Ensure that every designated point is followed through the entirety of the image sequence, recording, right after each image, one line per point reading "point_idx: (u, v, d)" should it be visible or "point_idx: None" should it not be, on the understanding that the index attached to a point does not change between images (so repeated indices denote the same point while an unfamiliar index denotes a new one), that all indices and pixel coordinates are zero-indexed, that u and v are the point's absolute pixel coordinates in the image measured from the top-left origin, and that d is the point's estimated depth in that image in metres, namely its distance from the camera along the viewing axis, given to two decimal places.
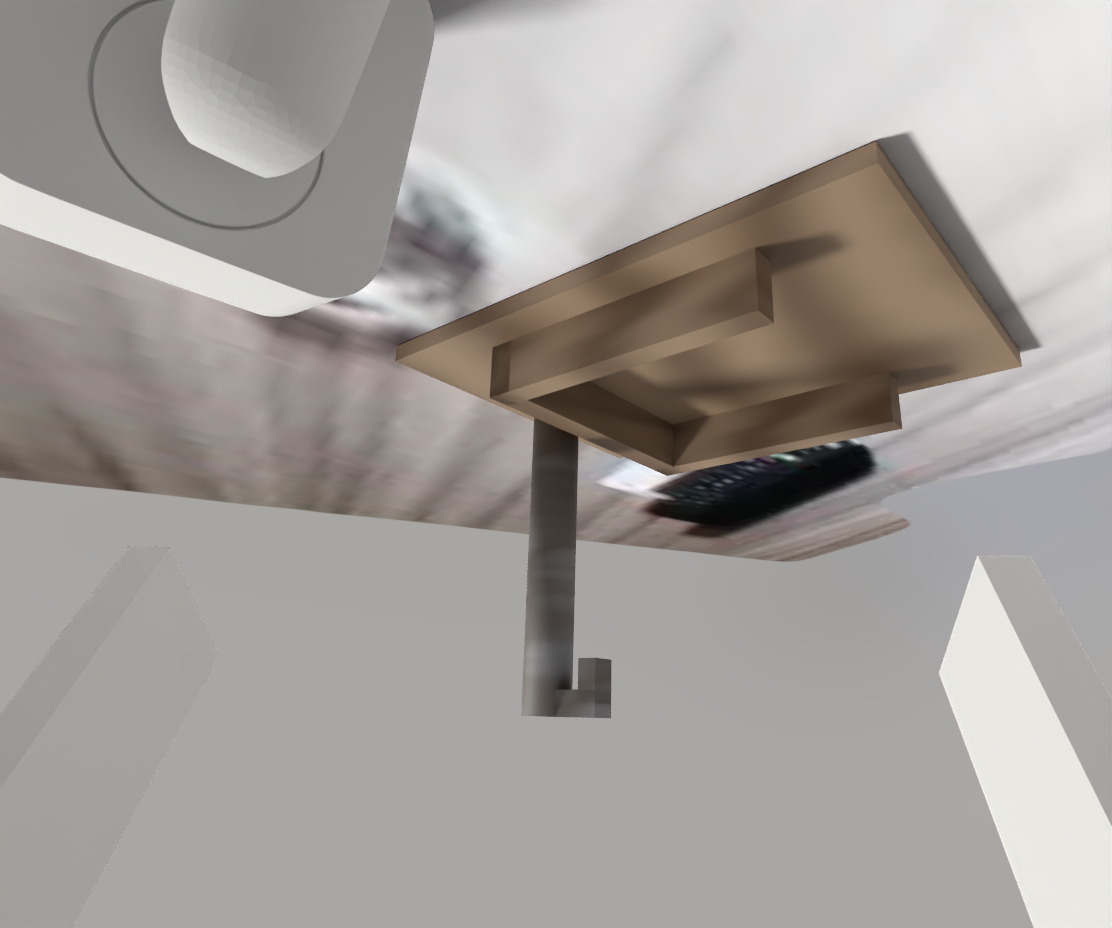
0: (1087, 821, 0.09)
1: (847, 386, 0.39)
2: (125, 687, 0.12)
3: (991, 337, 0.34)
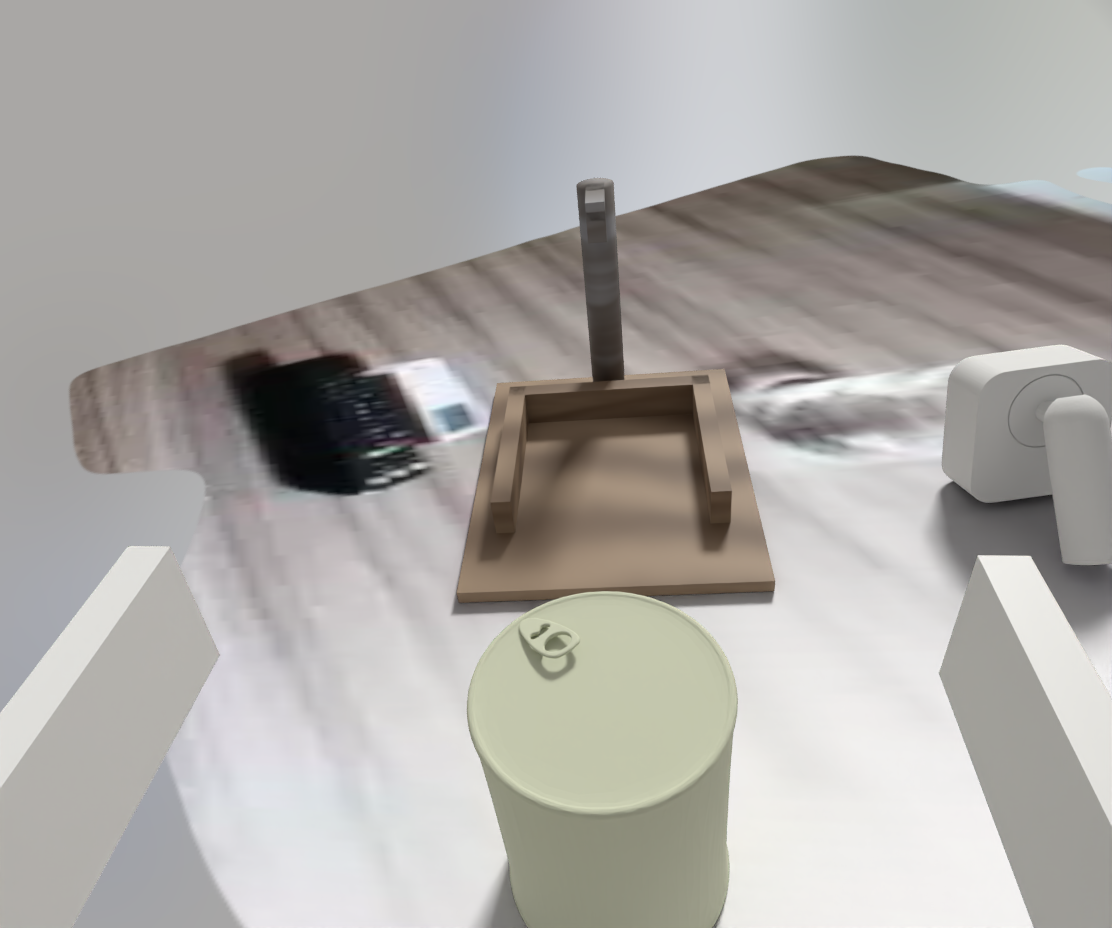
0: (1087, 821, 0.09)
1: (517, 508, 0.51)
2: (125, 687, 0.12)
3: (523, 586, 0.46)
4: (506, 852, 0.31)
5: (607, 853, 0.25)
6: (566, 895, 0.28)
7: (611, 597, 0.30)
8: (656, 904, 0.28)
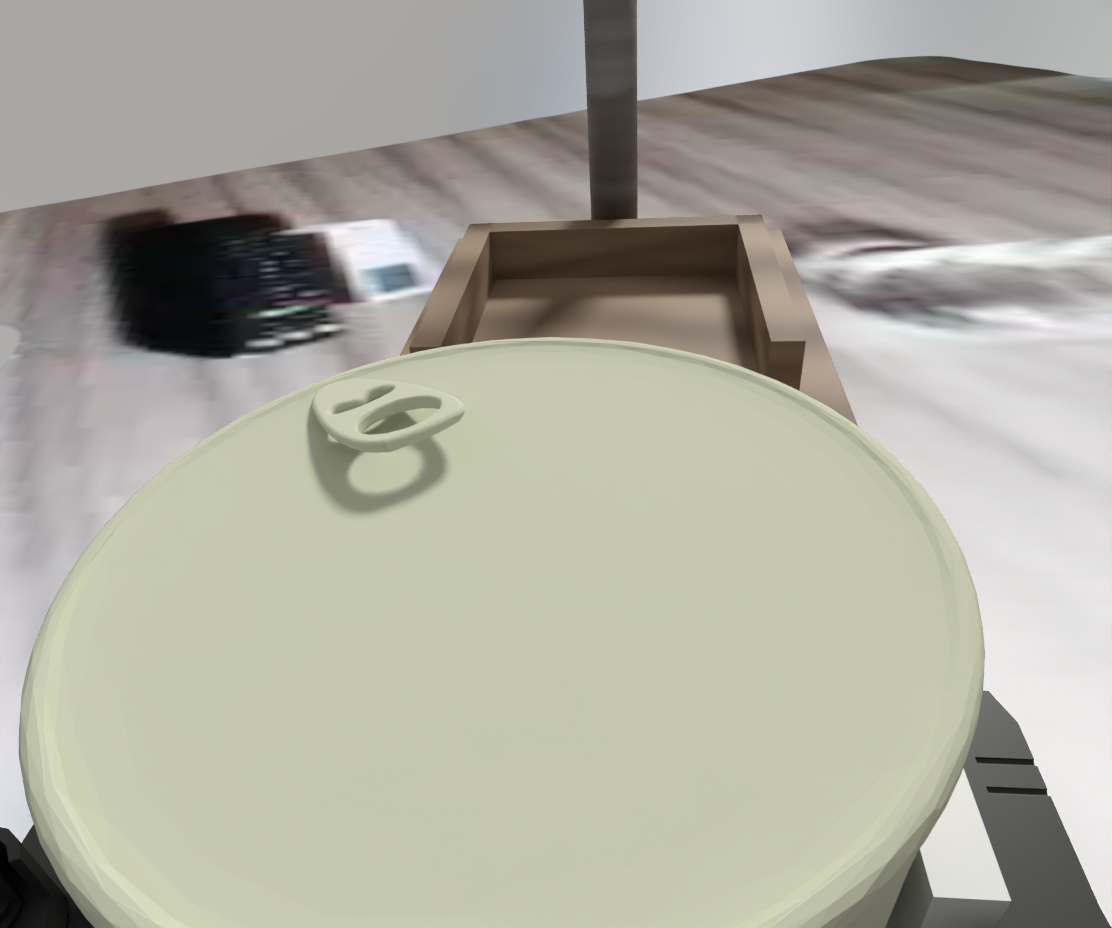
0: None
1: None
2: None
3: None
4: None
5: None
6: None
7: (572, 348, 0.12)
8: None
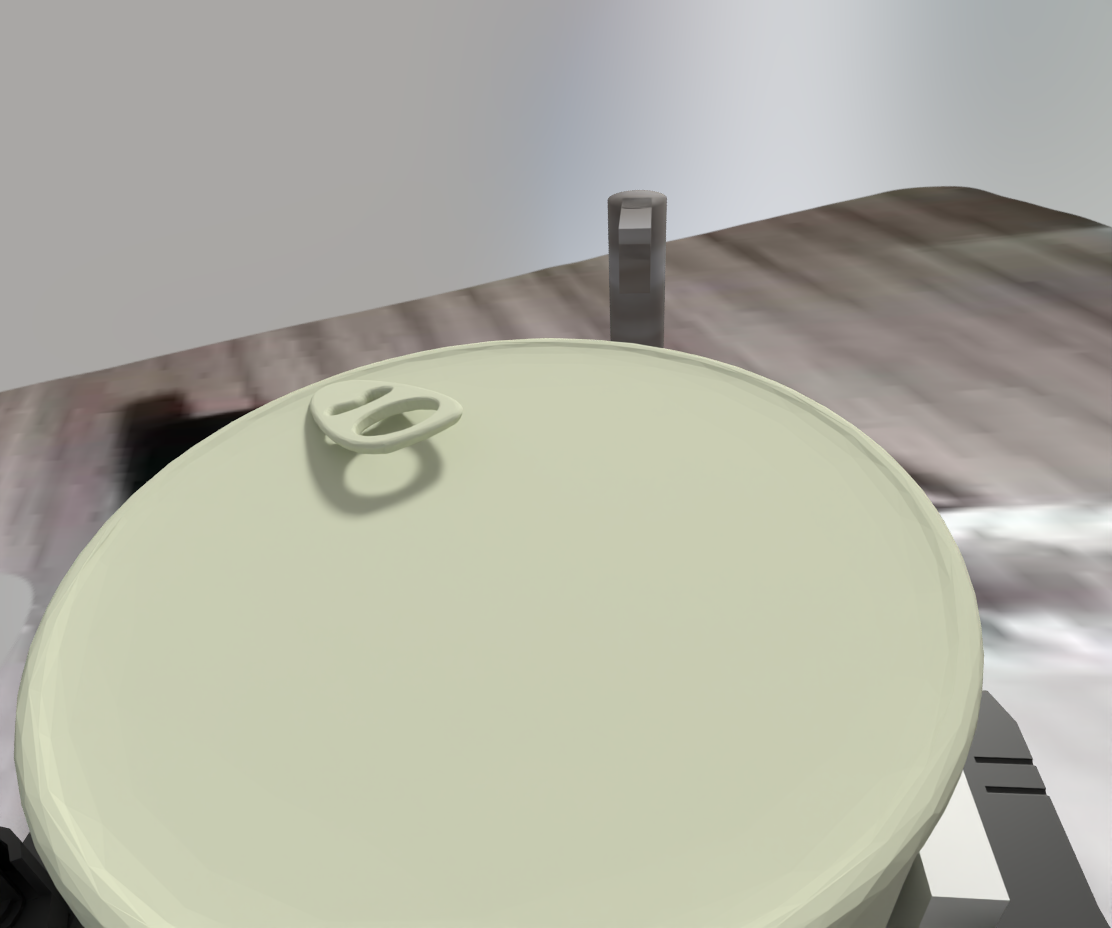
0: None
1: None
2: None
3: None
4: None
5: None
6: None
7: (571, 349, 0.12)
8: None
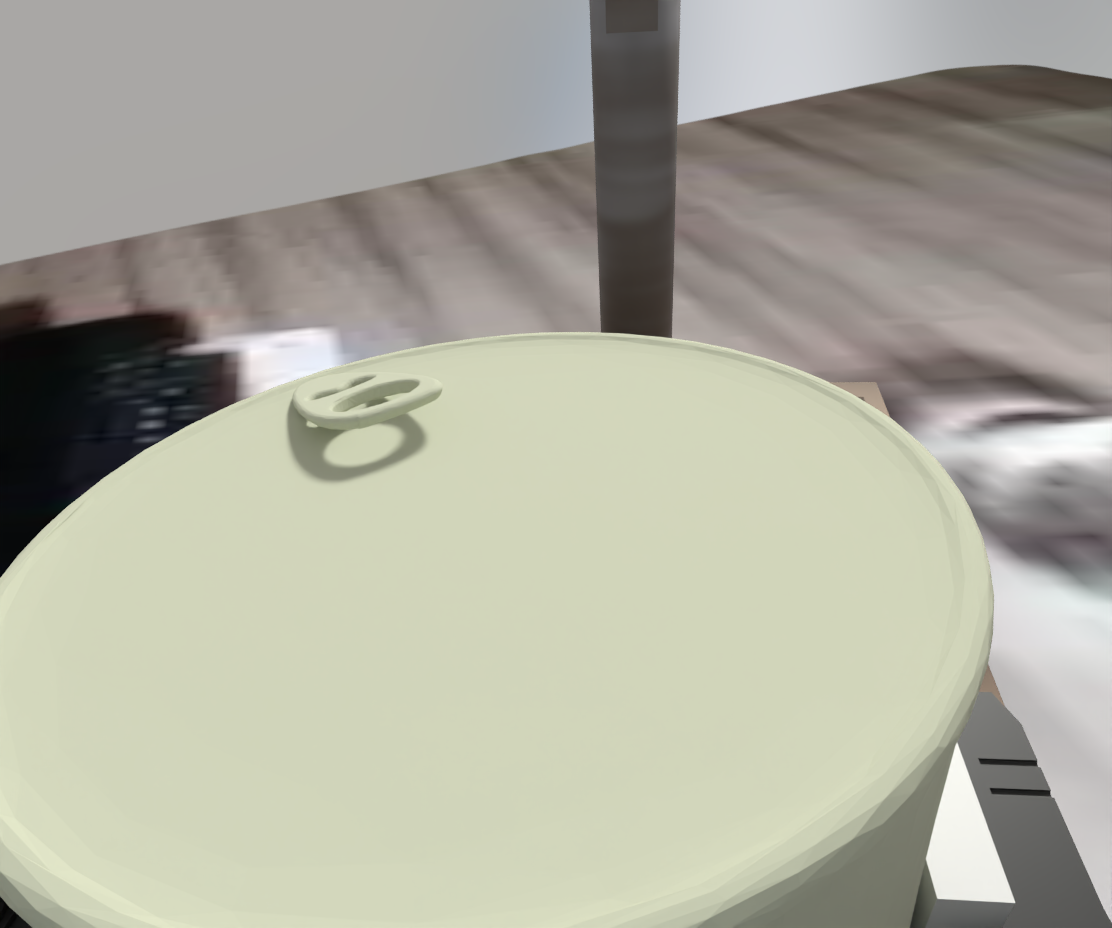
0: None
1: None
2: None
3: None
4: None
5: None
6: None
7: (561, 341, 0.11)
8: None
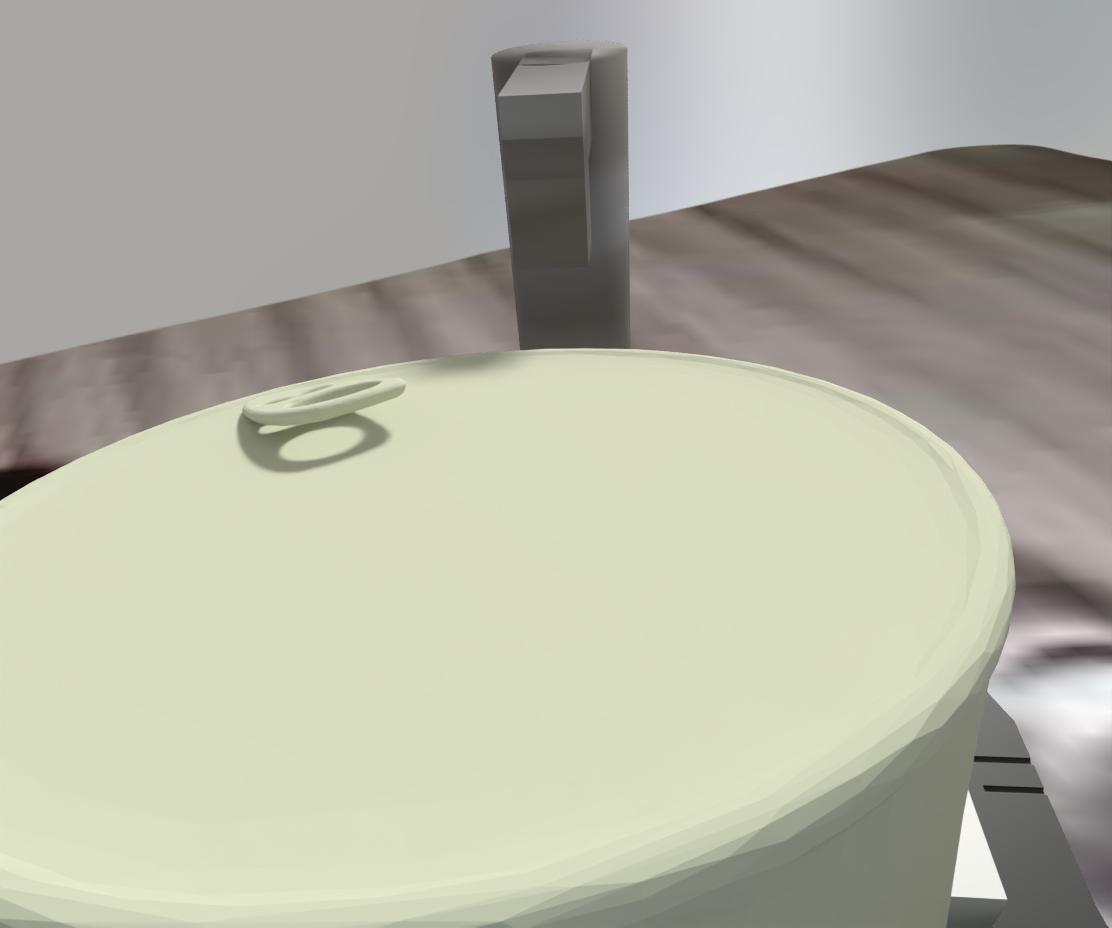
0: None
1: None
2: None
3: None
4: None
5: None
6: None
7: (523, 357, 0.11)
8: None
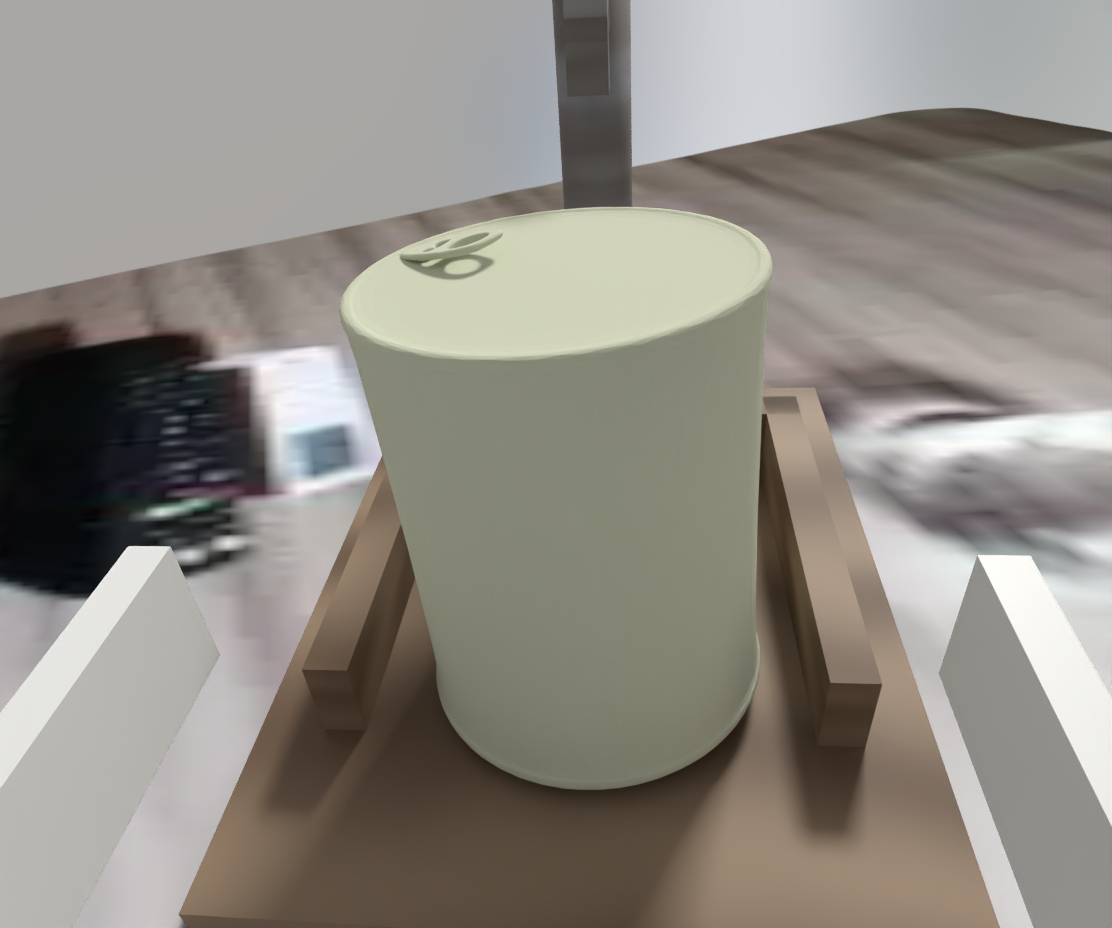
0: (1087, 821, 0.09)
1: (383, 668, 0.23)
2: (125, 687, 0.12)
3: (348, 908, 0.18)
4: (438, 636, 0.20)
5: (629, 462, 0.15)
6: (560, 611, 0.17)
7: (528, 217, 0.21)
8: (700, 598, 0.17)
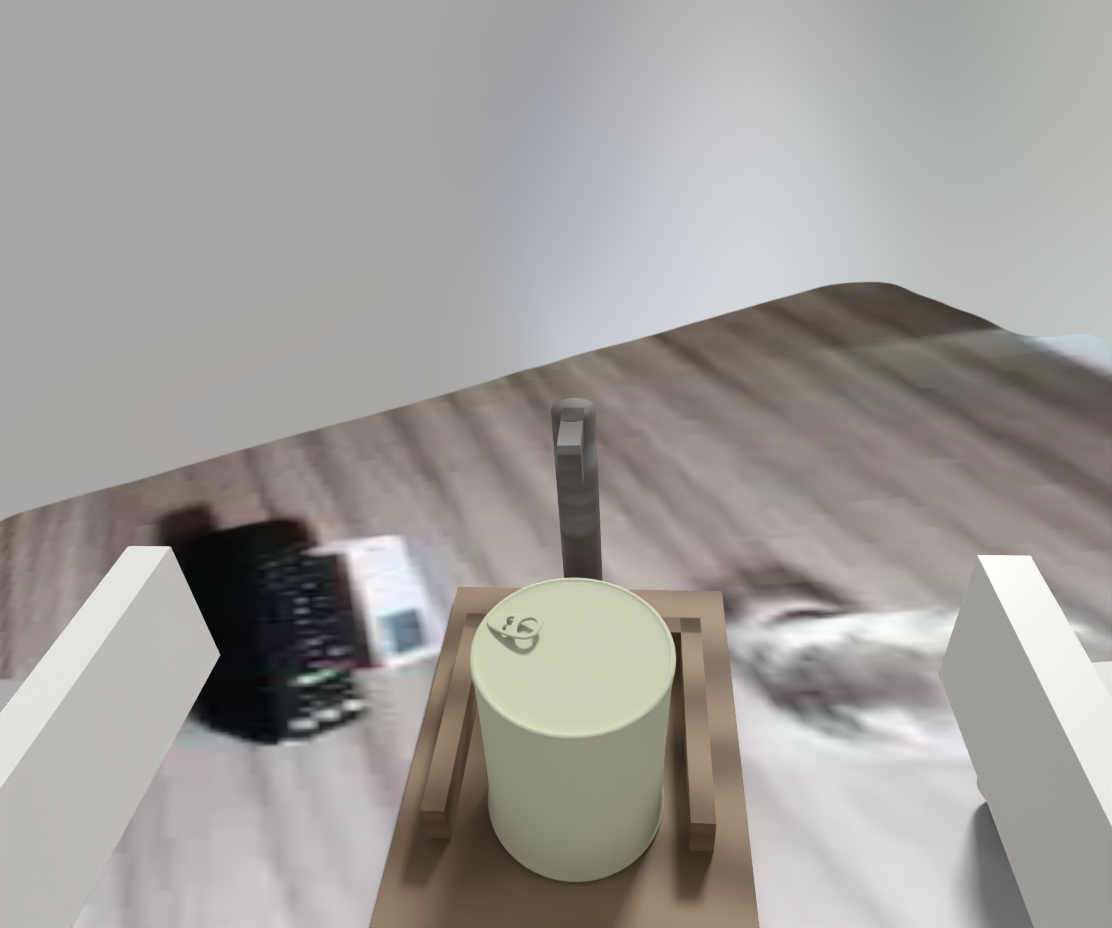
0: (1087, 821, 0.09)
1: (457, 800, 0.43)
2: (125, 687, 0.12)
3: None
4: (505, 812, 0.38)
5: (615, 763, 0.34)
6: (578, 815, 0.35)
7: (547, 585, 0.39)
8: (640, 798, 0.37)
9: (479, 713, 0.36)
